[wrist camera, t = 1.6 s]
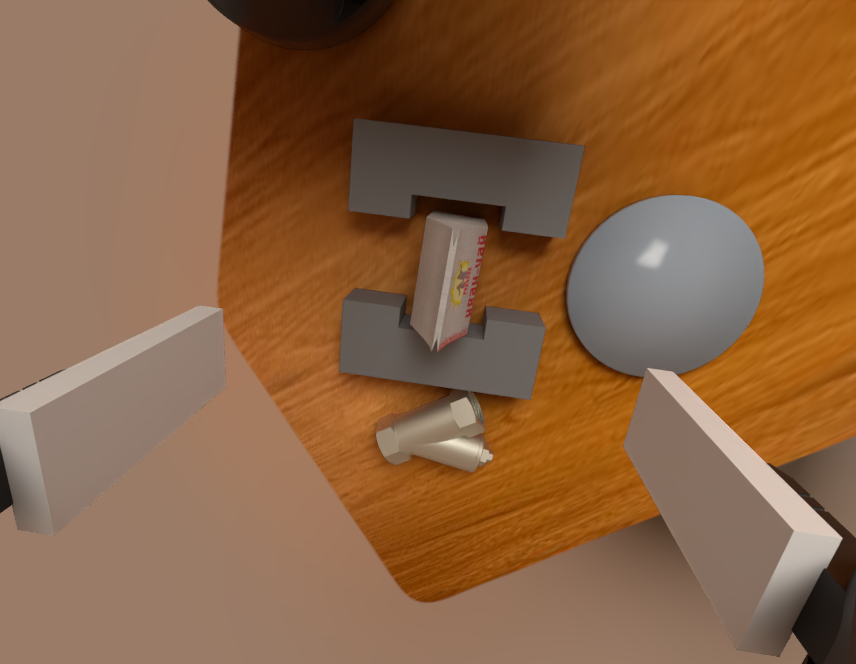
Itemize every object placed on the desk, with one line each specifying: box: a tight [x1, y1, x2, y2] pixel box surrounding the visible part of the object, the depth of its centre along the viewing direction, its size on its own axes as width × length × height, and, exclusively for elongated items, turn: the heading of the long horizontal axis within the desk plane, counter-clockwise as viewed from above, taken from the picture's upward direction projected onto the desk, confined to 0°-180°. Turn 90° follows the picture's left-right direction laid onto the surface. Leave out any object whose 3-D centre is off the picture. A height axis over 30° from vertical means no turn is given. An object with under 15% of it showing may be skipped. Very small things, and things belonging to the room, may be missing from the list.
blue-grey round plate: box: [566, 195, 764, 377], centre depth 32 cm, size 13×13×1 cm
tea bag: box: [410, 210, 488, 352], centre depth 29 cm, size 4×7×10 cm, turn 171°
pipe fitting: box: [376, 389, 493, 473], centre depth 37 cm, size 8×4×7 cm
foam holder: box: [339, 118, 585, 400], centre depth 32 cm, size 17×14×4 cm
